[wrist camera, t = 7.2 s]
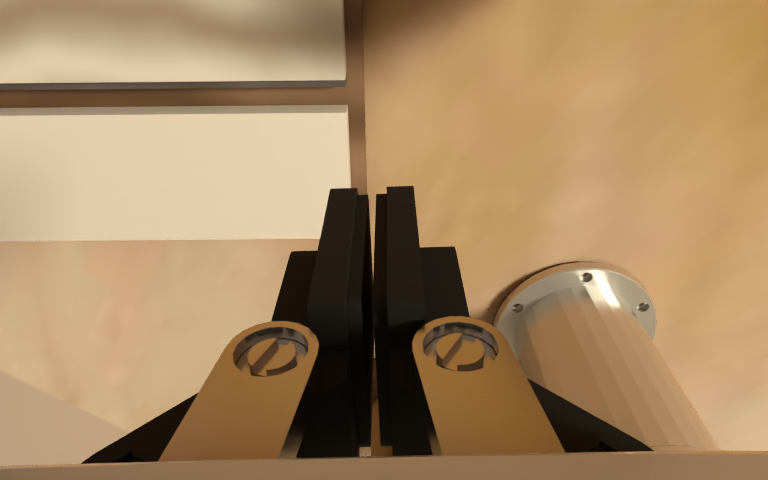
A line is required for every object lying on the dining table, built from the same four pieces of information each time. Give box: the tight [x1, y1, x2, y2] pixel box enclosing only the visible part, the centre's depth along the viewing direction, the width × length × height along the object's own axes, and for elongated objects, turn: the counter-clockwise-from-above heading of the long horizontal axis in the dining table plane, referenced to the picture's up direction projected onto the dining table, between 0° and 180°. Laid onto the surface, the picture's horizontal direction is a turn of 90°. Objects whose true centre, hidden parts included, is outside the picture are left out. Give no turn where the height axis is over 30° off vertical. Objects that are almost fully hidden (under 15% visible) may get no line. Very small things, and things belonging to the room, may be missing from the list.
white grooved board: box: [0, 0, 367, 195], centre depth 35 cm, size 17×26×3 cm, turn 91°
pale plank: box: [0, 105, 351, 241], centre depth 37 cm, size 9×24×2 cm, turn 91°
